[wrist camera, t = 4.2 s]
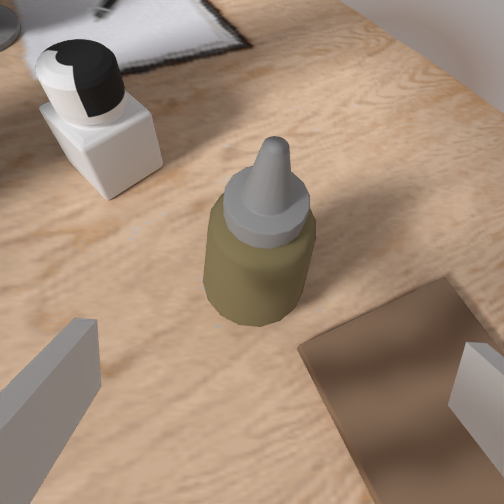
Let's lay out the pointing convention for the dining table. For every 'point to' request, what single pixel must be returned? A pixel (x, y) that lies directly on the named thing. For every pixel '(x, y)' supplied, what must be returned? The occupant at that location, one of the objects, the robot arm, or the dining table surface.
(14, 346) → the dining table surface
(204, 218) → the dining table surface
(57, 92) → the medicine bottle
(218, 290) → the squeeze bottle
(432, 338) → the walnut board
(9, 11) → the mate gourd
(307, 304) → the dining table surface
